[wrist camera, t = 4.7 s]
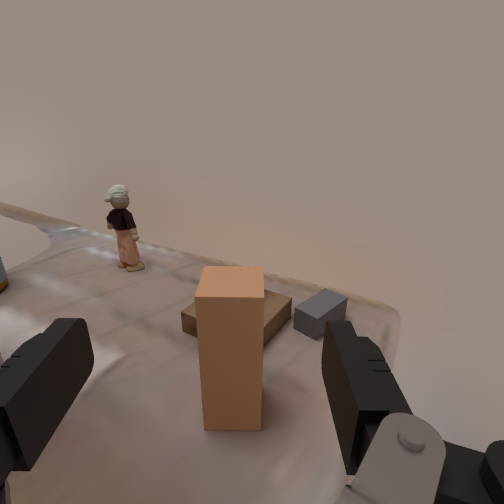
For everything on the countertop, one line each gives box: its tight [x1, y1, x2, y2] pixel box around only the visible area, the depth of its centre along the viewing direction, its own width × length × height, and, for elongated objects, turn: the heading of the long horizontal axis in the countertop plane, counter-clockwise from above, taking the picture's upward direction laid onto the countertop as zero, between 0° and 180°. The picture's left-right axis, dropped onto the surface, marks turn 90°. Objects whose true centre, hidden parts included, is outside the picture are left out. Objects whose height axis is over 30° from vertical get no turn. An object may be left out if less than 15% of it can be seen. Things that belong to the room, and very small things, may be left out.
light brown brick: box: [195, 266, 264, 431], centre depth 25 cm, size 4×4×12 cm
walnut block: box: [181, 289, 292, 348], centre depth 38 cm, size 9×9×3 cm
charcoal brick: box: [294, 288, 348, 340], centre depth 38 cm, size 3×6×3 cm, turn 135°
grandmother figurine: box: [104, 185, 145, 271], centre depth 50 cm, size 8×4×13 cm, turn 62°
